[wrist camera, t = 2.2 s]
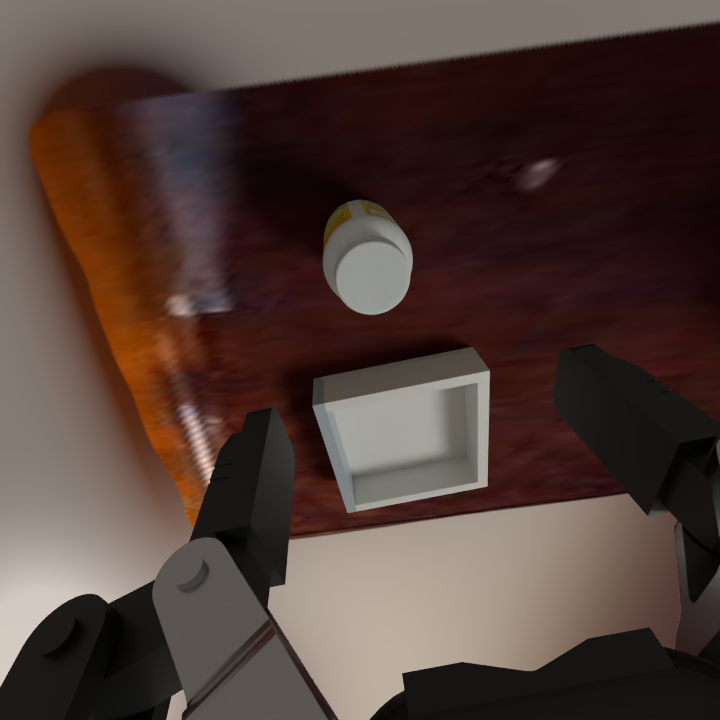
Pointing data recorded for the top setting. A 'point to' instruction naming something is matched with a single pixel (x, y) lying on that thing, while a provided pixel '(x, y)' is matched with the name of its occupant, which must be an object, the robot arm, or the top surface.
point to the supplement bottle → (366, 257)
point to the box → (406, 428)
